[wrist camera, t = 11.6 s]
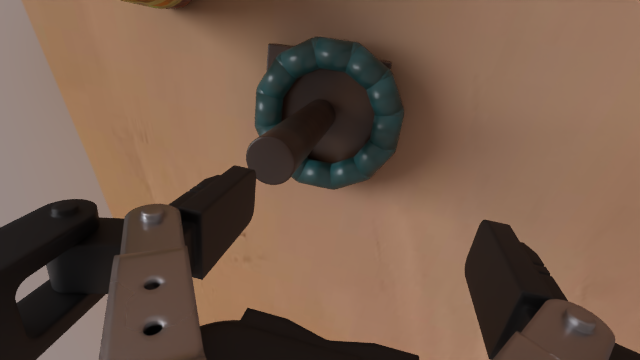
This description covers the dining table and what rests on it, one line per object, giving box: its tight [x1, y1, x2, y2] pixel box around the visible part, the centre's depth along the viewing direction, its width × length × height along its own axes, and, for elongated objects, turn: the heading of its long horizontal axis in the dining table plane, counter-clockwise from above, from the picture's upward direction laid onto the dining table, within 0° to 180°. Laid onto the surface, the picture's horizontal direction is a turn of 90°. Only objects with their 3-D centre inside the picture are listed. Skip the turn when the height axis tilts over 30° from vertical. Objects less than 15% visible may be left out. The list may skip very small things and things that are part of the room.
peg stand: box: [246, 44, 392, 185], centre depth 21 cm, size 9×9×12 cm
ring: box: [255, 37, 404, 189], centre depth 24 cm, size 11×11×2 cm
